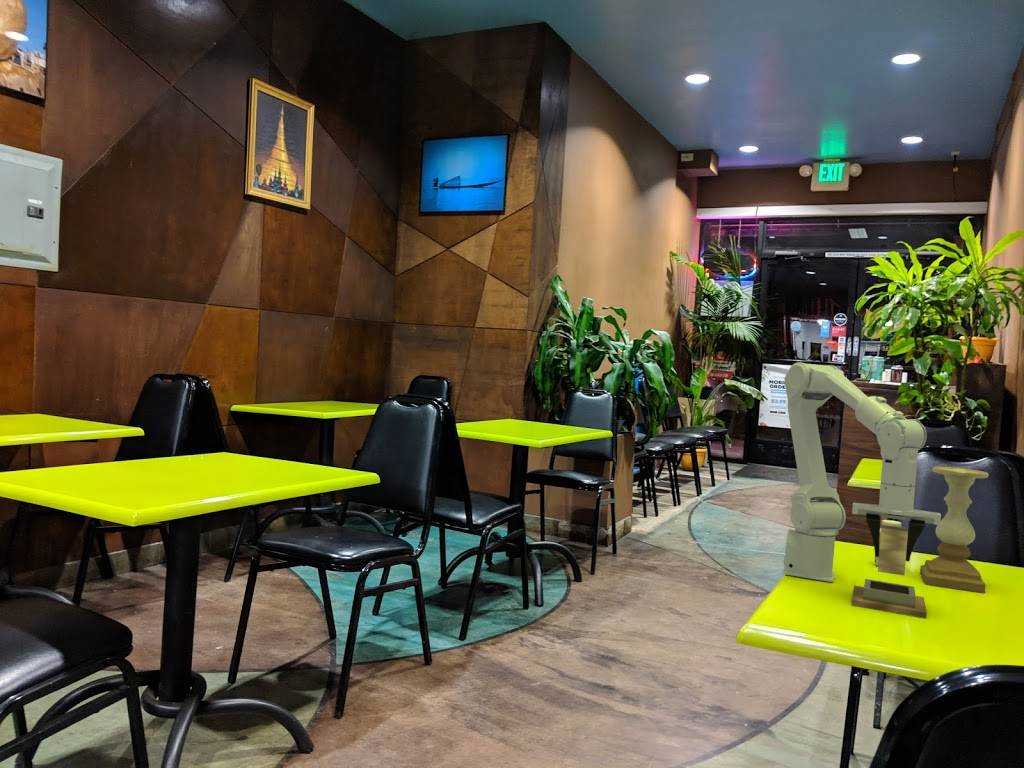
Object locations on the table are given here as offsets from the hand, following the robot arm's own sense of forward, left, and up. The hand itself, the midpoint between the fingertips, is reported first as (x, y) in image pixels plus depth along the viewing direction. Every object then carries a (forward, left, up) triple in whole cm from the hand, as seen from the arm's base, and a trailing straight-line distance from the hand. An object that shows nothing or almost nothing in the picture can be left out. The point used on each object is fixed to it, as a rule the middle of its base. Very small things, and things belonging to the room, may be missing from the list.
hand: (891, 558), depth 145 cm
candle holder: (+12, +28, -9) cm, 32 cm away
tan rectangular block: (0, 0, -2) cm, 2 cm away
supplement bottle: (0, +35, -9) cm, 36 cm away
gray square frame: (0, 0, -8) cm, 8 cm away
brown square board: (0, 0, -8) cm, 8 cm away
